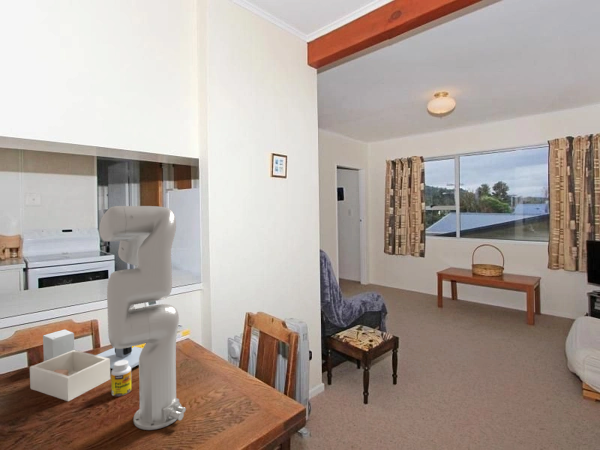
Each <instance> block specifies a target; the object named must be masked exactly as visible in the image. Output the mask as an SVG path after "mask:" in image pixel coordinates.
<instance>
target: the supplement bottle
mask: <svg viewBox="0 0 600 450" xmlns="http://www.w3.org/2000/svg"><path fill="white" fill-rule="evenodd" d="M128 365H129V364H128V361H127V360H121V361H117V362H116V363H115V364H114V369H112V370H111V371H110V381H111V396H113V397H122V396H127V395H128V394H129V393H131V392H132V368H131V367H130V366H128Z"/></svg>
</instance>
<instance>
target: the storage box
mask: <svg viewBox="0 0 600 450" xmlns="http://www.w3.org/2000/svg"><path fill="white" fill-rule="evenodd" d="M97 355H98V354H93V353H89V352H85V351H81V350H80V351H79V350H75V349H74V350H72V351H70V352H67V353H65V354H62V355H59V356H57V357H54V358H52V359H49V360H47V361H44V360H43V361H42V362H40V363H37V364H34V365H31V366H29V382H30V385H29V386H30V389H31V390H33V391H37V392H39V393H42V394H45V395H48V396H51V397H54V398H57V399H60V400H64V401H65V402H70V401H72V400H73V399H75V398H77V397H80V396H81V395H84V394H86V393H87V392H89V391H91V390H93V389H94V388H96V387H99V386H100V385H102V384H104V383H106V382H107V381H109V380H110V381H111V368H110V359H109V358H105V357H101V356H97ZM56 369H62V370H68V376H67V375H63V374H60V373H57V372H53V371H55V370H56ZM78 371H79V372H78ZM76 372H77V373H76Z"/></svg>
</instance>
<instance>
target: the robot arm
mask: <svg viewBox="0 0 600 450" xmlns="http://www.w3.org/2000/svg"><path fill="white" fill-rule="evenodd" d="M176 229H177V220H176V215H175V213H174V212H173V210H171V208H168V207H166V206H165V207H164V206H156V205H153V206H152V205H115V206H111V207H110V208H108V209H107V210H106V211H105V212H104V213H103V215H102V217H101V218H100V222H99V235H100V238H101V240H103V241H105V242H119V246H118V251H117V254H118V258H119V259H120V260H121V261H122V262H124V263H126V264H129V265H132V266H135V268H127V269H126V268H125V269H121V270H120V269H119V270H116V271H113V272H111V273H110V275H109V278H108V281H107V287H106V288H107V289H106V290H107V291H106V293H107V294H106V297H107V298H106V302H107V305H106V306H107V307H106V308H107V332H108V333H107V335H108V341H109V343H110V345H111V347H112V348H115V353H116V349H123V354H124V355H126V354H128V353H131V352H132V346H134V347H138V346H140V345H143V344H144V346H143V347H142V348H143V349H142V351H141V354H140V357H139V365H138V379H139V381H138V382H139V383H138V384H139V388H138V389H139V393H138V395H139V409H138V410H136V412H135V413H134V414H133V415H134V416H133V425H134V426H135V427H136V428H138V429H140V430H144V431H145V430H146V431H154V430H159V429H162V428H166V427H168V426H170V425H171V424H173V423H175V422H176V421H177V420H178V421H182V420H183V419H184V416H185V415H184V413H186V410H187V408H186V407H184V406H182V404H181V403H180V398H177V367H176V366H177V365H176V363H177V362H176V361H177V351H176V349H177V347H176V346H177V335H178V330H179V324H180V314H179V312H178V310H177V308H176V307H175V306H174V305H171V304H166V303H164V304H163V303H161V304H154V305H150V306H149V305H148V306H143V307H138V308H136V307H135V306H134V305H139V304H146V303H152V302H157V301H161V300H164V299H167V298H168V297H170V295H171V293H172V290H173V289H172V288H173V274H172V273H173V270H172V246H173V242H174V239H175V236H176Z"/></svg>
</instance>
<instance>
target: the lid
mask: <svg viewBox="0 0 600 450" xmlns="http://www.w3.org/2000/svg"><path fill="white" fill-rule="evenodd" d="M142 349H143V347H138V346H134V347H133V348H132V352H131V353H128V354H126V355H124V354H123V349H116V353H115V348H114V347H112V348H110V349H108V350H105V351H103V352H101V353H97V354H96V355H97V356H101V357H105V358H109V359H110V369H112V370H113V369H114V364H115V363H116V362H117V361H121V360H127V361H128V364H129V365H128V366H130V367H131V369H133V368H135V367H136V366H139V357H140V354H141V351H142Z"/></svg>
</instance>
